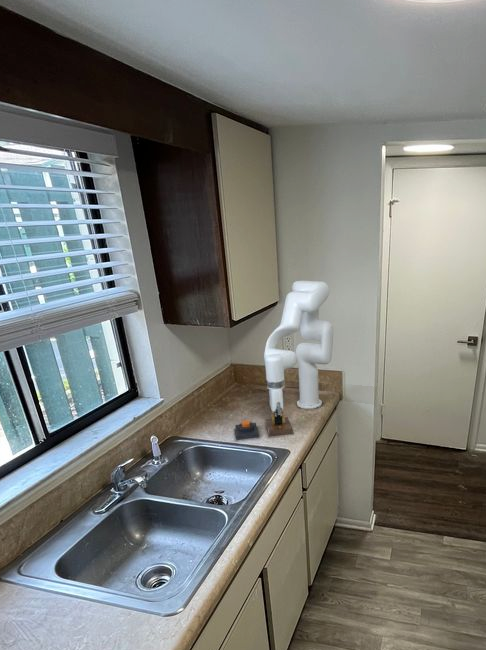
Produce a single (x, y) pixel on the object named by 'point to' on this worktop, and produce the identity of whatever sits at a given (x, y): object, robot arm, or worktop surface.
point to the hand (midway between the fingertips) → (278, 422)
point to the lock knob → (274, 417)
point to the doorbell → (246, 431)
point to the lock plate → (278, 428)
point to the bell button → (245, 423)
